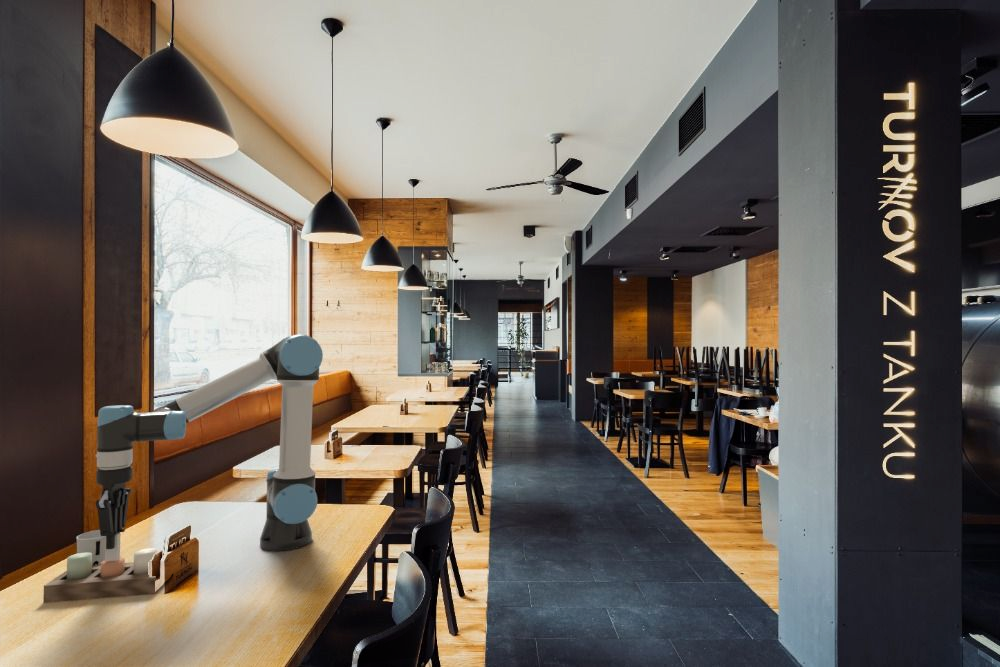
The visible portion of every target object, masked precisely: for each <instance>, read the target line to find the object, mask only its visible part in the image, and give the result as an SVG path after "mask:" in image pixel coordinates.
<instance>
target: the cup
mask: <svg viewBox="0 0 1000 667" xmlns="http://www.w3.org/2000/svg"><path fill="white" fill-rule="evenodd" d="M75 537H76V554H78V553H86V552H88V553H92V565H101V562H102V561H104V560H105V542H106V536H101V535H100V529H98V530H96V529H95V530H91V531H87V532H84V533H81V534H79V535H77V536H75Z"/></svg>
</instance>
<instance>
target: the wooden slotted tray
mask: <svg viewBox="0 0 1000 667" xmlns="http://www.w3.org/2000/svg"><path fill="white" fill-rule="evenodd" d="M100 571H101V565H92V574H91V575H90V576H88V577H86V578H81V579H68V580H67V570H66V571H64V572H63V573H61V574H59V575H58V576H56V577H54V578H53V579H52V580H50V581H48V582H47V583H45V585H43V597H42V598H43V604H45V603H58V602H71V601H83V600H95V599H107V598H108V599H109V598H121V597H134V596H145V595H146V596H148V595H155V594H156V593H155V581H156V576H152V577H149V575H148V574H136V575H134V574H133V573H134V561H131V562H125V572H124V573H123V574H121V575H120V576H109V577H100Z"/></svg>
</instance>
